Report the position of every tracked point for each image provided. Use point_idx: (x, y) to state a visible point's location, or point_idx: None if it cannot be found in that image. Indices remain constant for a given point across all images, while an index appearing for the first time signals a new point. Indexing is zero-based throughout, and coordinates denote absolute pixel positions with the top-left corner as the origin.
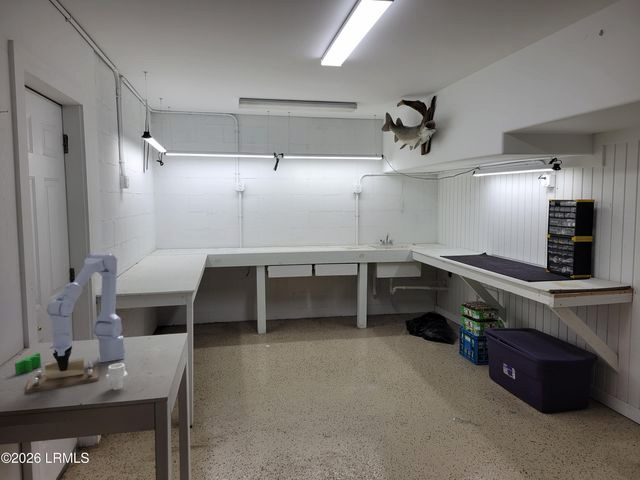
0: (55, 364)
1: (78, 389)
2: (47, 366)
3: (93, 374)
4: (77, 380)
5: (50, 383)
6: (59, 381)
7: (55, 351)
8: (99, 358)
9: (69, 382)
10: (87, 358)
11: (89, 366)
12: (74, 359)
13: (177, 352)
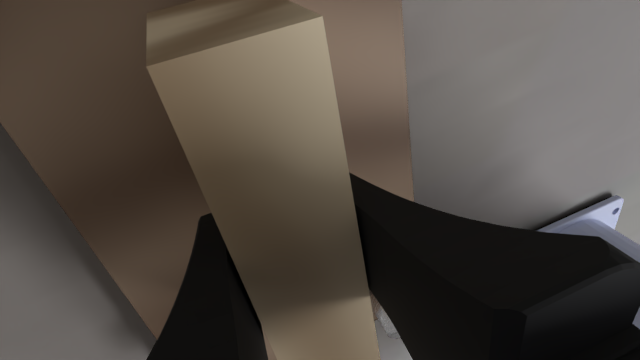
0: (224, 223)
1: (14, 351)
2: (164, 106)
3: (267, 347)
4: (149, 311)
5: (73, 98)
6: (138, 171)
7: (488, 315)
8: (572, 224)
9: (109, 269)
10: (637, 131)
11: (377, 308)
12: (374, 339)
13: None
